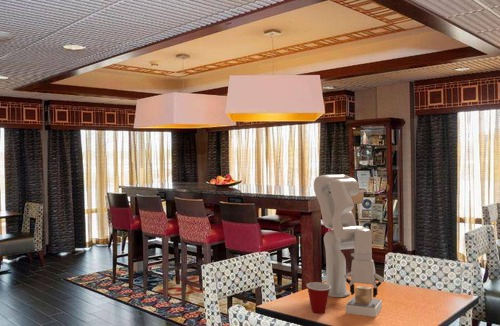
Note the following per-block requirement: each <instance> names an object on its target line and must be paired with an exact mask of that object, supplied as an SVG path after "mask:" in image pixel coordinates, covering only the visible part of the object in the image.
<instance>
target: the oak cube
mask: <svg viewBox="0 0 500 326" xmlns="http://www.w3.org/2000/svg"><path fill="white" fill-rule="evenodd" d="M354 297H355V303H362V304H370V302H371V301H372V299H373V286H362V285H357V286H356V288H355V293H354Z"/></svg>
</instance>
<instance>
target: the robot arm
mask: <svg viewBox="0 0 500 326" xmlns="http://www.w3.org/2000/svg"><path fill="white" fill-rule="evenodd" d="M313 191H314V195H315V197H316V199H317V200H318V204H319V208H320V212H321V217H322V223H323V225H324V227H325V228H327V229H329V231H327V232H325V234H324V236H323V242H324V243H323V244H324V248H325V263H326V266H325V268H326V269H325V271H326V274H325V275H326V284H328V285H330V286H331V288H330V290H329V293H328V297H330V298H344V297H345V298H346V297H348V296H349V295H350V294H351V295H352V296H353V295H355V289H356V288H355V283H357V284H366V285H372V298H376V296H378V287H379V286H381V284H382V283H383V281H384V280H385V279H384V277H383V276H381V275H379V274H378V273H376V268H375V262H374V259H373V257H372V255H373V251H372V249H373V246H372V244H373V243H372V241H373V239H372V230H371V229H370V228H367V227H364V226H362V225H357V223H356V218H355V215H354V213H353V212H352V211H353V209H354V208H355V204H354V201H353V199H352V196H353V197H354V196H357V195H358V194H359V192H360V185H359V182H358V181H357V180H356V179H355V178H354V177H351V176H349V175H347V174H342V173H341V174H323V175H318V176H317V177H315V178H314V180H313ZM330 229H333V230H330ZM351 249H353V251H354V252H351V253H350V256H351V257H353V259H352V261H351V266H350V267H351V268H350V271H349V272H347V262H346V257H345V255H344V253H343V252H342V251H341V250H351ZM349 277H350V278H349ZM376 279H377V280H378V282H376ZM347 284H348V285H349V290H348V289H347Z"/></svg>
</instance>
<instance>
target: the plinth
mask: <svg viewBox="0 0 500 326" xmlns="http://www.w3.org/2000/svg"><path fill="white" fill-rule="evenodd" d="M344 307H345V314H349V315H357V316H365V317H371V318H376V317H377V316H378V315H379V313H380V312H381V310H382V309H383V300H381V299H378V298H372V301H371V302H370V304H362V303H355V296H353V297H352V298H350V300H349V301H348V302H347V303H346V304H345V305H344ZM377 314H378V315H377Z"/></svg>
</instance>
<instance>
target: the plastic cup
mask: <svg viewBox="0 0 500 326" xmlns="http://www.w3.org/2000/svg"><path fill="white" fill-rule="evenodd" d="M305 286H306V288H307V291H308V292H307V293H308V297H309V303H310V306H311V307H310V309H311V313H312V314H316V315H322V314H325V313H326V311H327V310H326V309H327V304H328V299H329V298H328V297H329V296H328V293H329V290H330V288H331V286H330V285H328V284H327V283H325V282H321V281H320V282H318V281H317V282H316V281H313V282H308V283H306V284H305Z"/></svg>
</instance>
